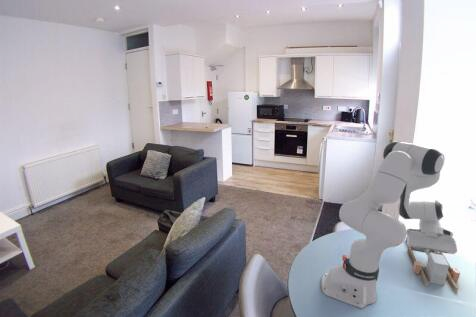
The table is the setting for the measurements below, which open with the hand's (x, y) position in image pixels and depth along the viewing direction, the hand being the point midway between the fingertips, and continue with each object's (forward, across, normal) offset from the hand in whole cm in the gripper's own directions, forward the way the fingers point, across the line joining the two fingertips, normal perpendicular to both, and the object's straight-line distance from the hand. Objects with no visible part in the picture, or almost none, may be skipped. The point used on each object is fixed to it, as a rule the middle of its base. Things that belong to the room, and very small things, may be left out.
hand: (432, 259), depth 132 cm
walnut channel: (0, 0, +6) cm, 6 cm away
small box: (+9, 0, -2) cm, 9 cm away
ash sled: (+9, 0, -3) cm, 10 cm away
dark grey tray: (-9, 0, +16) cm, 18 cm away
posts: (+7, 0, -1) cm, 7 cm away
